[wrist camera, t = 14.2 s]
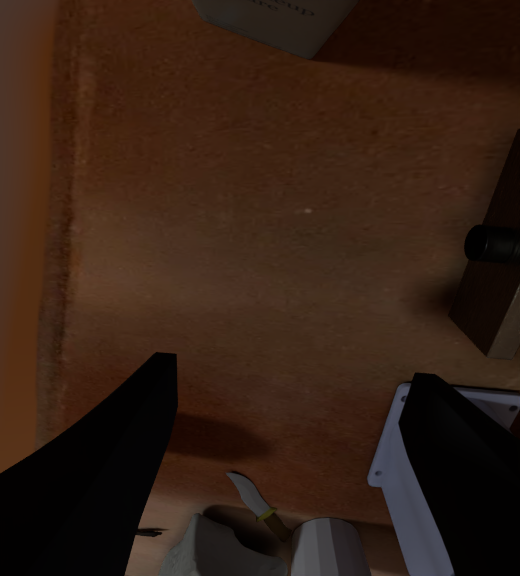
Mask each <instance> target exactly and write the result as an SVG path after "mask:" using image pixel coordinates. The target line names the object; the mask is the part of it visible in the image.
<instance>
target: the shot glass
mask: <svg viewBox="0 0 520 576" xmlns="http://www.w3.org/2000/svg"><path fill="white" fill-rule="evenodd" d="M291 576H371V572H370V569H369V566H368V563H367V560H366V556H365V553H364V550H363V547H362V544H361V540H360V537H359V534H358V531H357V530H356V529H355V528H354V527H353V525H352V524H350V523H348V522H345V521H343V520H341V519H334V518H319V519H313V520H311V521H308V522H305V523H303V524H302V525H300V526H299V527H298V528H297V529H295V531H294V534H293V536H292V555H291Z"/></svg>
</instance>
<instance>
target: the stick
mask: <svg viewBox="0 0 520 576" xmlns="http://www.w3.org/2000/svg"><path fill="white" fill-rule="evenodd" d="M161 534H162V532H154V531H143V532H141V531H136V535H141V536H152V537H155V536H157V535H161Z"/></svg>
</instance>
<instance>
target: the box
mask: <svg viewBox="0 0 520 576" xmlns="http://www.w3.org/2000/svg"><path fill="white" fill-rule="evenodd" d="M192 2H193V4H194V6H195V8H196V10H197V11H198V13H199V15H200V17H201V18H202V19H203V20H204V21H206V22H209V23H211V24H214V25H216V26H219V27H221V28H224V29H226V30H229V31H232V32H234V33H237V34H240V35H243V36H245V37H248V38H250V39H253V40H256V41H258V42H261V43H264V44H267V45H269V46H272V47H275V48H277V49H280V50H283V51H286V52H289V53H292V54H294V55H297V56H300V57H303V58H306V59H312V58H313V57H314V56H315V54H316V53H317V52H318V51H319V49H320V48H321V47H322V46H323V44H324V43H325V42H326V40H327V39H328V38H329V37H330V36H331V34H332V33H333V32H334V31H335V30H336V29H337V28H338V26H339V25H340V24H341V23H342V22H343V20H344V19H345V18H346V17H347V15H348V14H349V13H350V11H351V10H352V9H353V8H354V7H355V5H356V4H357V3H358V2H359V0H192Z"/></svg>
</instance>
